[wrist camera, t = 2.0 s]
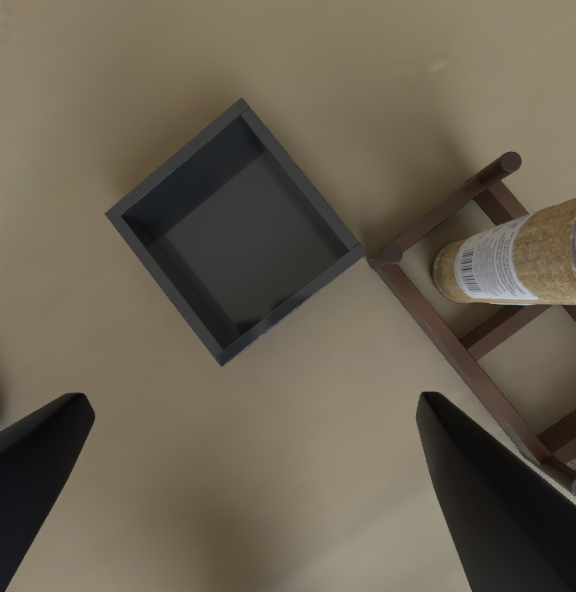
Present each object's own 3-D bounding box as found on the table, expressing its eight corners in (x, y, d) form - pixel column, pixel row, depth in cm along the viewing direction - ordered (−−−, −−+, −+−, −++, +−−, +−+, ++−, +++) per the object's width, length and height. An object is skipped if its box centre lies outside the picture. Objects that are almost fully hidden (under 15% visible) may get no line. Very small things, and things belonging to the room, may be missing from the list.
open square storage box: (358, 259, 22) (367, 252, 18) (235, 356, 22) (221, 367, 19) (252, 128, 22) (241, 96, 19) (135, 226, 23) (103, 213, 19)
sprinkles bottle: (491, 307, 21) (817, 327, 7) (425, 298, 21) (625, 302, 8) (500, 242, 21) (845, 147, 7) (433, 235, 21) (650, 130, 8)
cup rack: (645, 379, 20) (728, 400, 16) (528, 463, 21) (580, 502, 17) (474, 175, 21) (513, 146, 17) (365, 260, 22) (377, 252, 18)
